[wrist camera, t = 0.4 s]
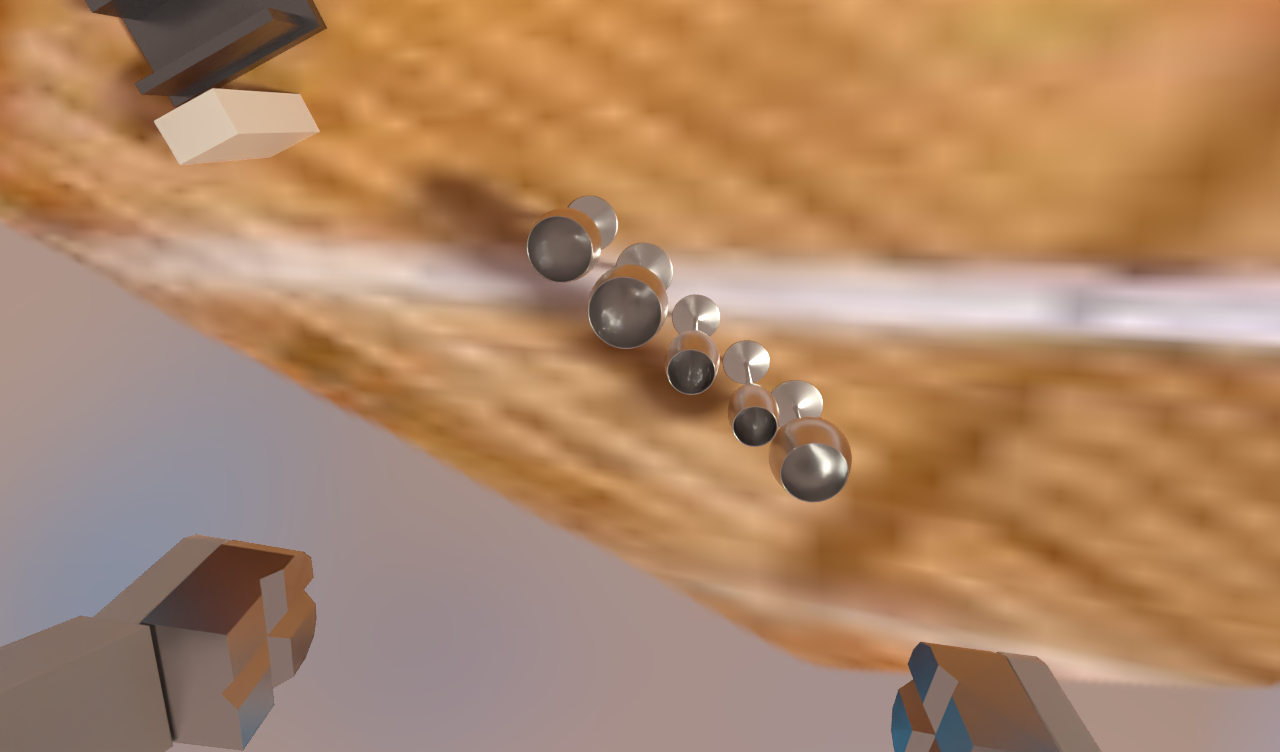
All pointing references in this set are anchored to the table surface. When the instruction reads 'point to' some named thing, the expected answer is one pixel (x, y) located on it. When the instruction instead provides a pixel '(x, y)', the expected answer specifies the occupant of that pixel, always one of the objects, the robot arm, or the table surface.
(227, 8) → the dish rack
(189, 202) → the table surface
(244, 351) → the table surface
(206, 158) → the tall cream block
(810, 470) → the goblet set
